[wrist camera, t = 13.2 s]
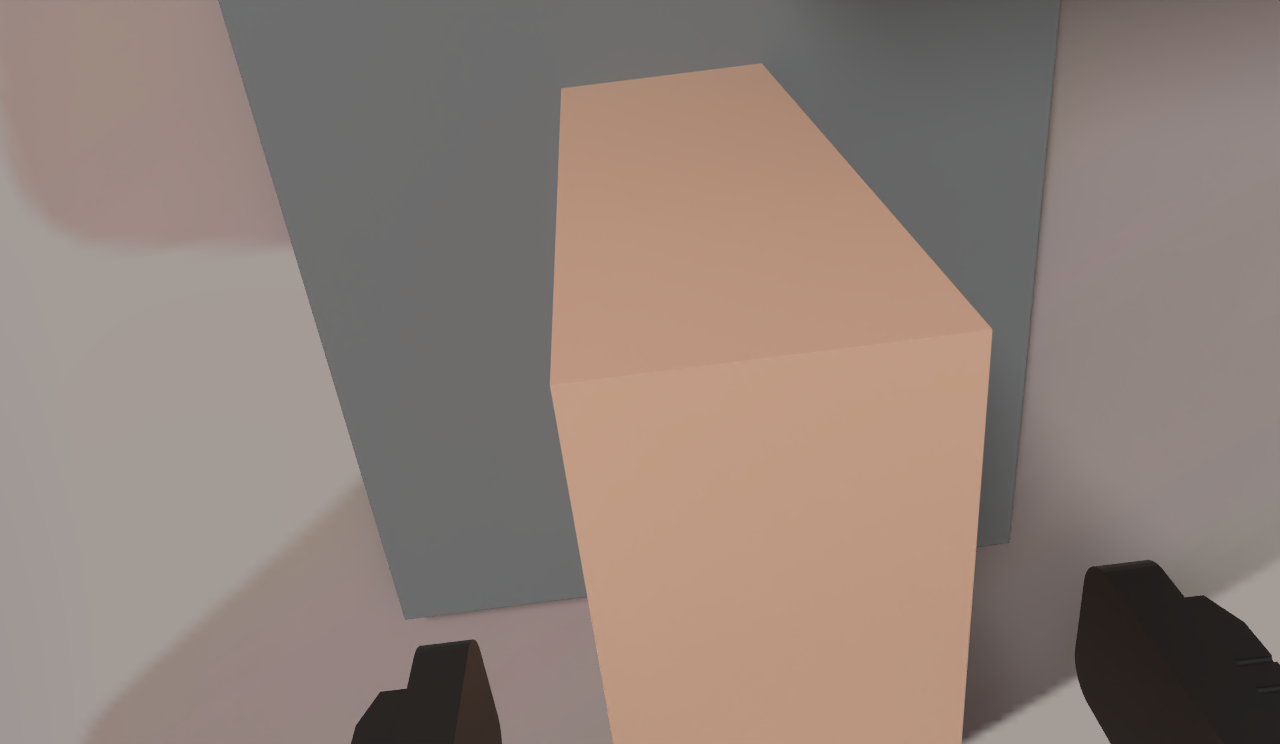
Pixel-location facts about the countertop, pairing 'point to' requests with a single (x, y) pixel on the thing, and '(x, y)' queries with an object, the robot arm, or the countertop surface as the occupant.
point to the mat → (526, 222)
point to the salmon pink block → (760, 424)
